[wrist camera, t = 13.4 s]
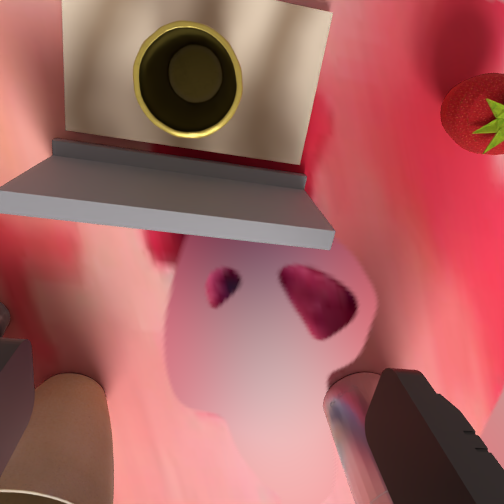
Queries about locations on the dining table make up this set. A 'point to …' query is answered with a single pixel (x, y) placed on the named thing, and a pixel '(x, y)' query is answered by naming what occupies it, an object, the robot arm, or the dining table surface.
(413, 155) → the dining table surface
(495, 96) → the strawberry
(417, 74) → the dining table surface
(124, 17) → the board
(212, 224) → the screen
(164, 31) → the vase
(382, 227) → the dining table surface
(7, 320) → the beverage cup
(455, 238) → the dining table surface
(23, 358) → the robot arm
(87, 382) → the plant pot
